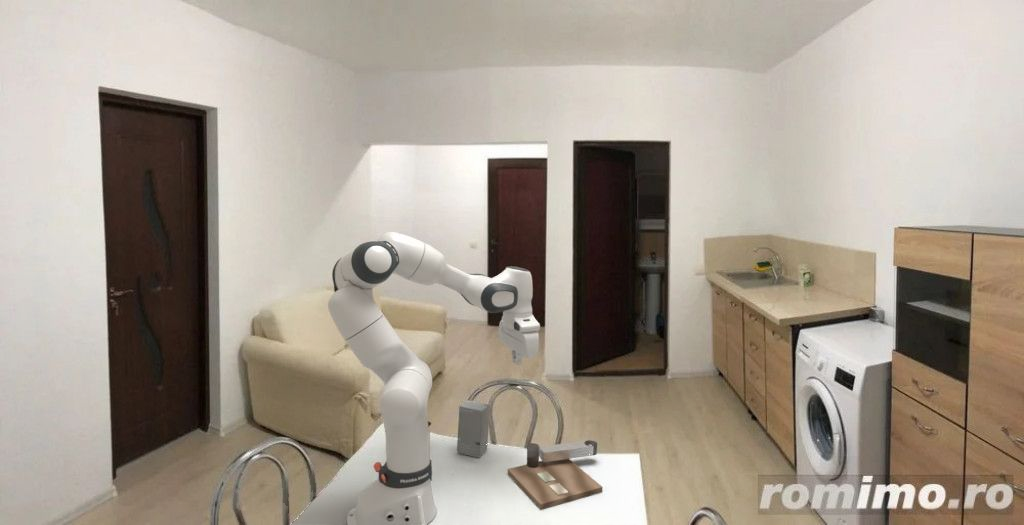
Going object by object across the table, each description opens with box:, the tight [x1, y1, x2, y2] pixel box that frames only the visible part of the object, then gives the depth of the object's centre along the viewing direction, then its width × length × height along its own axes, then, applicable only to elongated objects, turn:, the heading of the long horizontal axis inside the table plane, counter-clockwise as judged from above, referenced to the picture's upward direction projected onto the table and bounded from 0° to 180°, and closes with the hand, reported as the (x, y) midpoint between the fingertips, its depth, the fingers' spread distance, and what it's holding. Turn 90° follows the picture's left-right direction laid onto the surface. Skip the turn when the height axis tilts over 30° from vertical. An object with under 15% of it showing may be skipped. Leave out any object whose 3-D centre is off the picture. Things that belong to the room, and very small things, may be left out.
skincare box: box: [456, 399, 491, 459], centre depth 173 cm, size 8×7×16 cm
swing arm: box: [539, 439, 598, 462], centre depth 166 cm, size 18×4×3 cm, turn 107°
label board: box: [507, 443, 603, 511], centre depth 156 cm, size 20×21×8 cm
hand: (516, 363), depth 165 cm, fingers closed
